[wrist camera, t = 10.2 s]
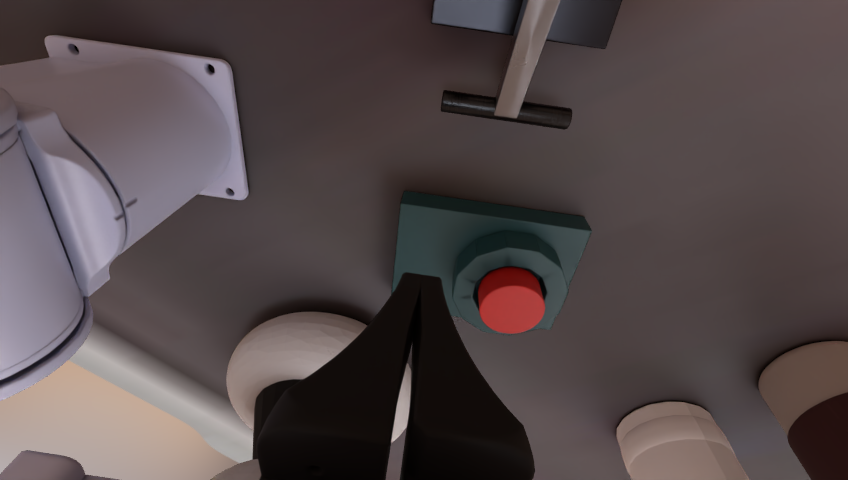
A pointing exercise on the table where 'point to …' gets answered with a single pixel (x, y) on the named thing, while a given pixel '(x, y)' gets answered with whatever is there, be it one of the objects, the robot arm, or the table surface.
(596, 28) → the bracket
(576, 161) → the table surface
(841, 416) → the coffee cup
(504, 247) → the button box
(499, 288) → the stop button
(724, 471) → the bottle
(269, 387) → the decorative figurine
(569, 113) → the lever
